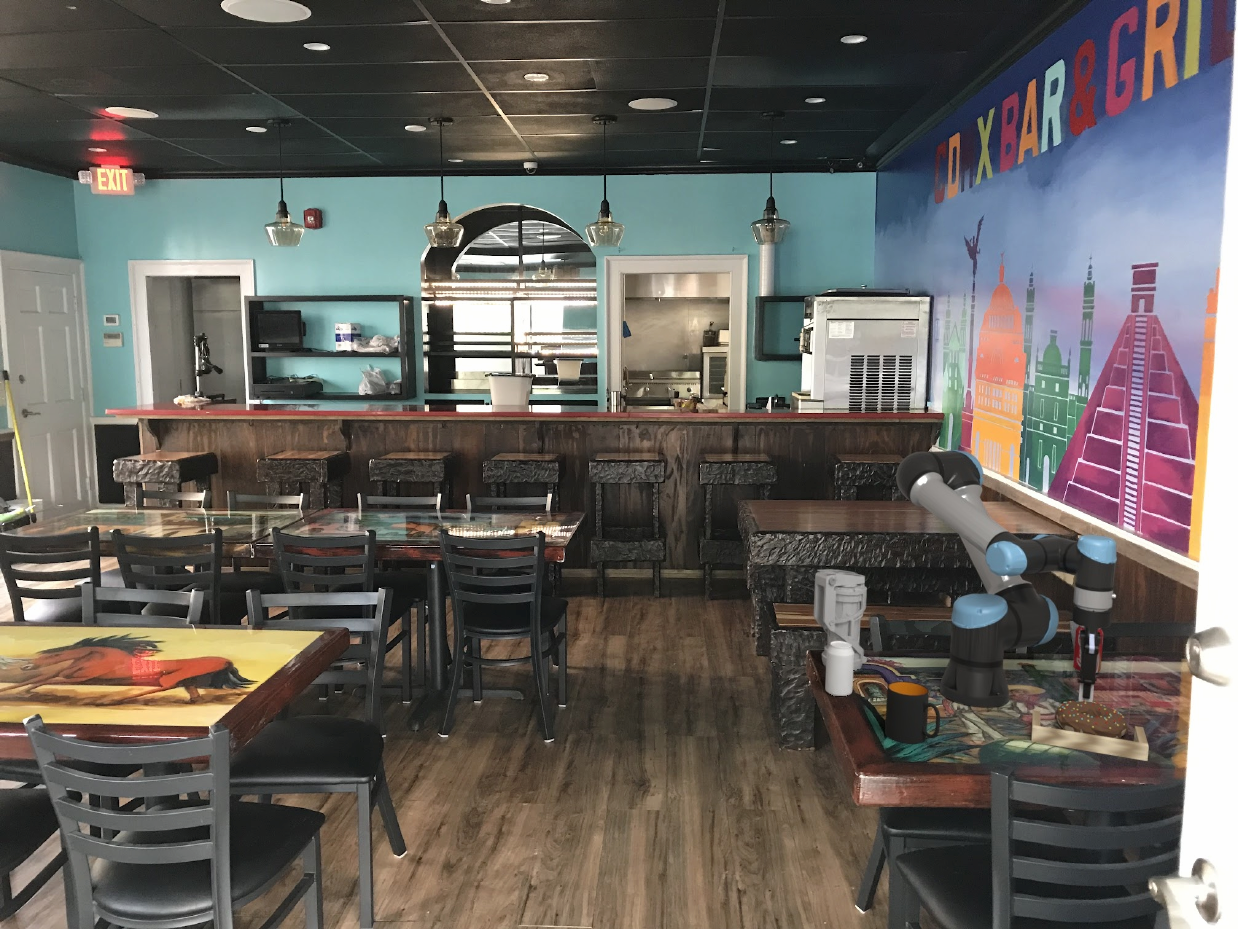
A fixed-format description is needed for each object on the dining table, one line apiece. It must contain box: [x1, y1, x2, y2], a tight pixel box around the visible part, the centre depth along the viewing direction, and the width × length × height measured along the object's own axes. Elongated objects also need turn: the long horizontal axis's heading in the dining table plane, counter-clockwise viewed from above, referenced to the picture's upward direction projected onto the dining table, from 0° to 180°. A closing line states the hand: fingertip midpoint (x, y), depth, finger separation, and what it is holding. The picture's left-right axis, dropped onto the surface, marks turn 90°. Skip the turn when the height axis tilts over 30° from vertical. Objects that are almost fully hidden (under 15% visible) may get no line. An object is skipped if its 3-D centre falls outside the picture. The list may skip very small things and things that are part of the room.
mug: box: [884, 680, 941, 745], centre depth 191 cm, size 8×12×10 cm
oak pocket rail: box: [1031, 709, 1150, 762], centre depth 192 cm, size 21×10×3 cm, turn 66°
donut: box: [1054, 700, 1129, 739], centre depth 197 cm, size 14×14×5 cm
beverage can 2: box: [1072, 625, 1104, 674], centre depth 234 cm, size 6×6×12 cm
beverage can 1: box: [825, 641, 854, 697], centre depth 216 cm, size 6×6×12 cm
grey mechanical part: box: [813, 568, 868, 671], centre depth 235 cm, size 13×10×25 cm
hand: (1084, 710), depth 204 cm, fingers closed
